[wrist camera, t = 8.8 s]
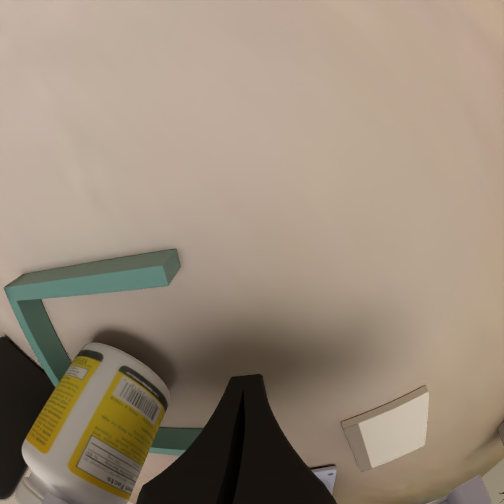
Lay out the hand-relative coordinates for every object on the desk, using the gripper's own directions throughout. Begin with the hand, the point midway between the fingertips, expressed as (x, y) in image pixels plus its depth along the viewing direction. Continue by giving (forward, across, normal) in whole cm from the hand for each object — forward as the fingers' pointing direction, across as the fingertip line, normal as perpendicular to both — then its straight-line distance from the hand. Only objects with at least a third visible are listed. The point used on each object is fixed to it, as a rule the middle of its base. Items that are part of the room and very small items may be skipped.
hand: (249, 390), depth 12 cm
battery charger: (+2, +17, +1) cm, 17 cm away
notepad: (+2, -9, +10) cm, 14 cm away
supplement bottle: (+1, +6, 0) cm, 7 cm away
